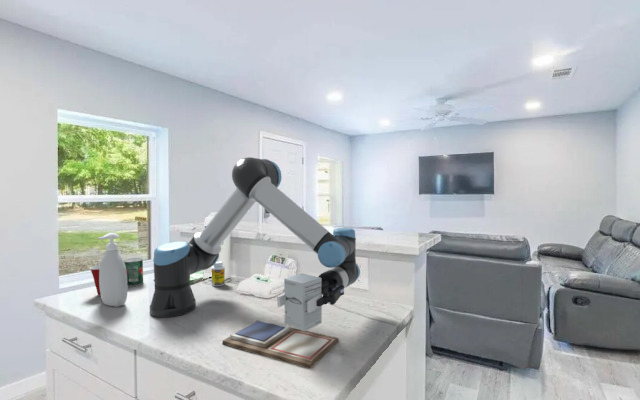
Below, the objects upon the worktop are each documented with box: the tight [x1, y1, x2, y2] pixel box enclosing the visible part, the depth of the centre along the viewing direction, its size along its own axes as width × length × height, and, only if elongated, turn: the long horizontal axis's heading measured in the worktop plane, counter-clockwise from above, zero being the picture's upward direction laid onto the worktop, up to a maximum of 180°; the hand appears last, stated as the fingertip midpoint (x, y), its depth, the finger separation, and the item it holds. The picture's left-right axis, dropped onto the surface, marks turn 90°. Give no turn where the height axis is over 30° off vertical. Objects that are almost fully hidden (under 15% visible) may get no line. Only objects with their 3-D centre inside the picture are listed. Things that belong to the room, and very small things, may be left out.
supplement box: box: [283, 273, 323, 331], centre depth 92 cm, size 7×7×13 cm
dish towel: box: [153, 270, 204, 285], centre depth 162 cm, size 18×23×3 cm
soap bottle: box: [97, 232, 128, 308], centre depth 127 cm, size 14×8×27 cm, turn 62°
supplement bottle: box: [211, 260, 226, 287], centre depth 152 cm, size 6×6×10 cm
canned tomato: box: [123, 257, 144, 287], centre depth 155 cm, size 8×8×11 cm
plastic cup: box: [89, 264, 101, 297], centre depth 141 cm, size 11×11×12 cm
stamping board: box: [222, 319, 339, 369], centre depth 95 cm, size 28×16×2 cm, turn 62°
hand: (293, 304), depth 87 cm, fingers closed on supplement box, 8 cm apart
